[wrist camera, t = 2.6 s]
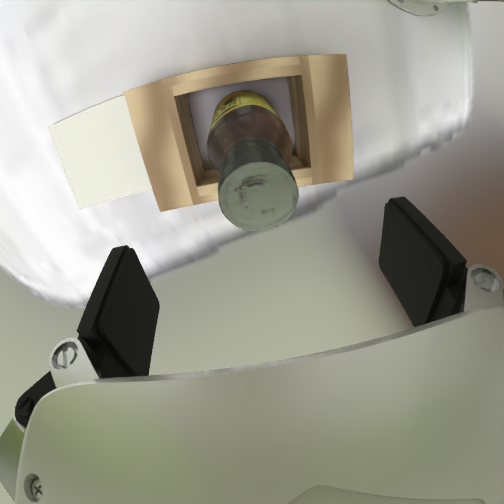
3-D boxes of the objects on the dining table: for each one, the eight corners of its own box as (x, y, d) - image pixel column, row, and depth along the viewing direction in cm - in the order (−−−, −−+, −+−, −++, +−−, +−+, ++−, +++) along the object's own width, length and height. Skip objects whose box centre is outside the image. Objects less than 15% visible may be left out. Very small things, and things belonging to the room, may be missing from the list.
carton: (322, 55, 26) (346, 54, 20) (331, 157, 33) (353, 179, 28) (144, 85, 26) (123, 91, 21) (171, 184, 34) (160, 212, 28)
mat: (135, 91, 27) (132, 91, 26) (161, 184, 34) (160, 187, 33) (52, 125, 27) (48, 127, 26) (82, 205, 34) (79, 209, 33)
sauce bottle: (224, 82, 27) (216, 107, 11) (279, 99, 29) (345, 150, 13) (207, 136, 31) (183, 231, 15) (260, 151, 32) (294, 256, 16)
